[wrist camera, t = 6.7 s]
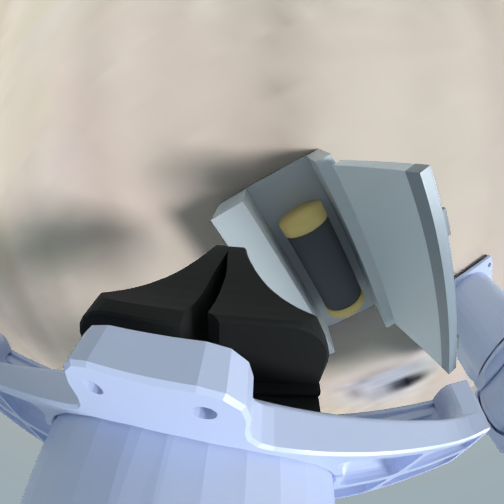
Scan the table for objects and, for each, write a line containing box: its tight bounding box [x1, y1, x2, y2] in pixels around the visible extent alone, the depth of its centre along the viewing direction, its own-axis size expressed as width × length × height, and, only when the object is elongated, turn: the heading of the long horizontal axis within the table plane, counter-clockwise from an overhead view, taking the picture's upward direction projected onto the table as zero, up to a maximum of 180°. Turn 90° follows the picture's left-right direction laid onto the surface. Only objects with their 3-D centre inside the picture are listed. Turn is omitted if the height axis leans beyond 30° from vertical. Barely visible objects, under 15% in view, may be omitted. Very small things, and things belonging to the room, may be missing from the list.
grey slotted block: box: [211, 149, 395, 355], centre depth 19 cm, size 14×8×4 cm, turn 31°
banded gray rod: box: [279, 200, 365, 318], centre depth 18 cm, size 8×3×3 cm
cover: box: [333, 160, 459, 374], centre depth 13 cm, size 13×7×1 cm
